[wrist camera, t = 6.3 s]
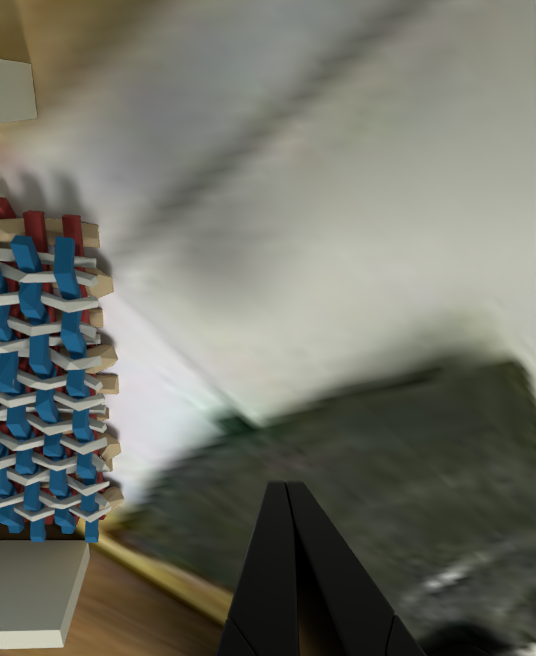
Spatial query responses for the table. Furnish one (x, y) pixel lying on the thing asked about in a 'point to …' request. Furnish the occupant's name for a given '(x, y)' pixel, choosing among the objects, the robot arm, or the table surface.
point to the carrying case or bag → (460, 651)
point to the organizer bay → (24, 555)
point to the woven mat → (53, 377)
